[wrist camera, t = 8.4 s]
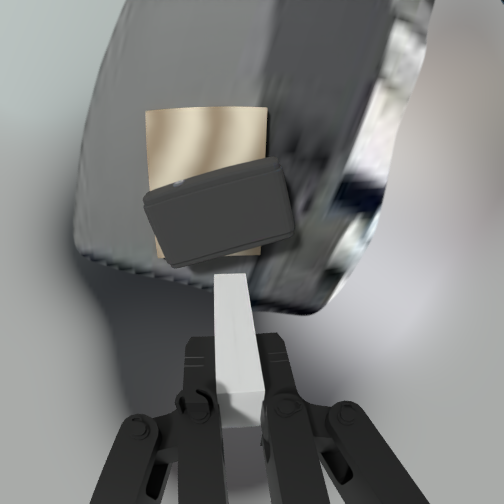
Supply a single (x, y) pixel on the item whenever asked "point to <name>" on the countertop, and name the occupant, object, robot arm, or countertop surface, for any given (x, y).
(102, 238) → the countertop surface
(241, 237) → the card reader
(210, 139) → the birch board
